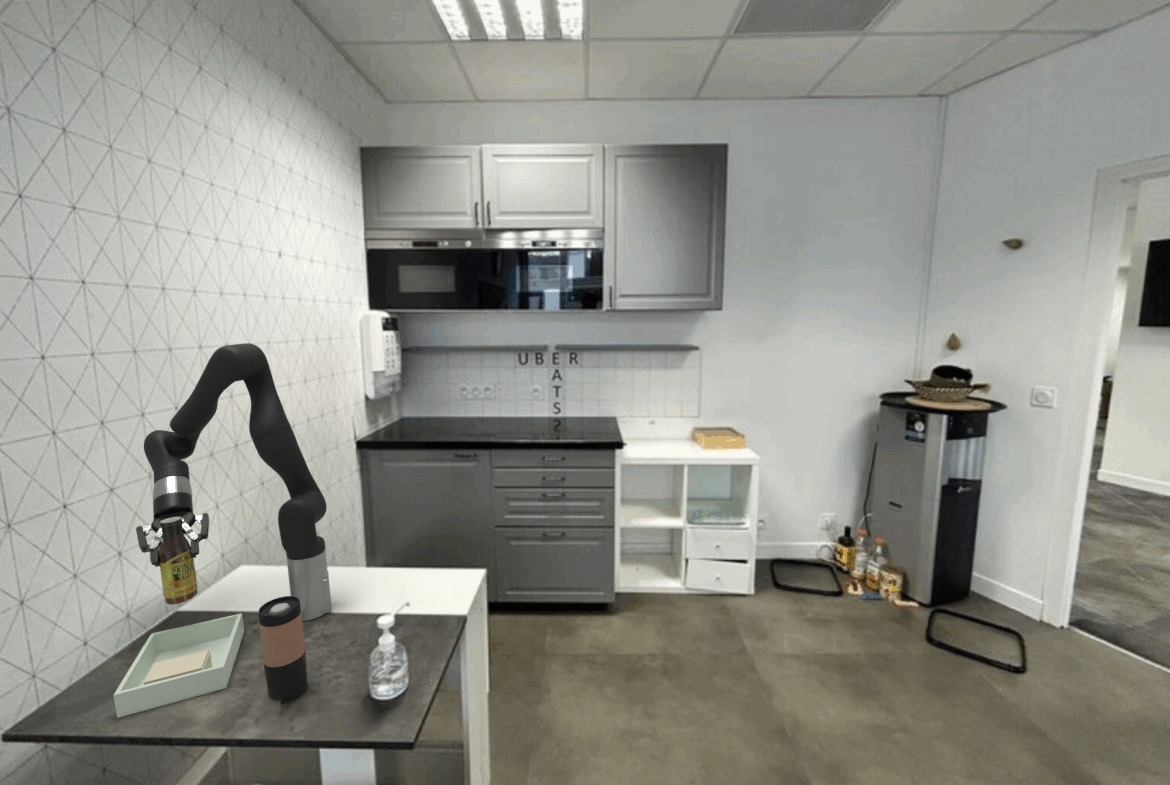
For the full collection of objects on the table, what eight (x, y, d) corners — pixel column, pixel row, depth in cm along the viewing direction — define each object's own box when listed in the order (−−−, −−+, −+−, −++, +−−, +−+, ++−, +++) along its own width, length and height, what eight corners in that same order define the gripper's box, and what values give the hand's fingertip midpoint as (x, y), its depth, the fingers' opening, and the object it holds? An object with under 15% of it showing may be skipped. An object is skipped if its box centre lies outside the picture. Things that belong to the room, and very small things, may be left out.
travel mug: (282, 678, 110) (273, 595, 108) (316, 679, 110) (307, 595, 107) (259, 705, 103) (248, 616, 100) (295, 705, 103) (285, 616, 100)
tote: (244, 635, 126) (241, 613, 125) (226, 691, 107) (223, 666, 106) (154, 656, 118) (151, 633, 118) (117, 722, 99) (113, 695, 98)
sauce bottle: (179, 607, 115) (165, 526, 112) (158, 604, 117) (143, 525, 114) (206, 591, 122) (193, 515, 118) (185, 589, 123) (172, 514, 120)
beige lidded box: (212, 669, 112) (210, 649, 112) (205, 689, 106) (202, 668, 105) (156, 683, 108) (153, 662, 107) (145, 705, 102) (142, 683, 101)
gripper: (131, 498, 117) (131, 564, 110) (206, 485, 126) (211, 545, 118) (138, 512, 122) (138, 576, 115) (210, 499, 131) (215, 558, 123)
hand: (175, 560), depth 116 cm, fingers closed on sauce bottle, 6 cm apart
